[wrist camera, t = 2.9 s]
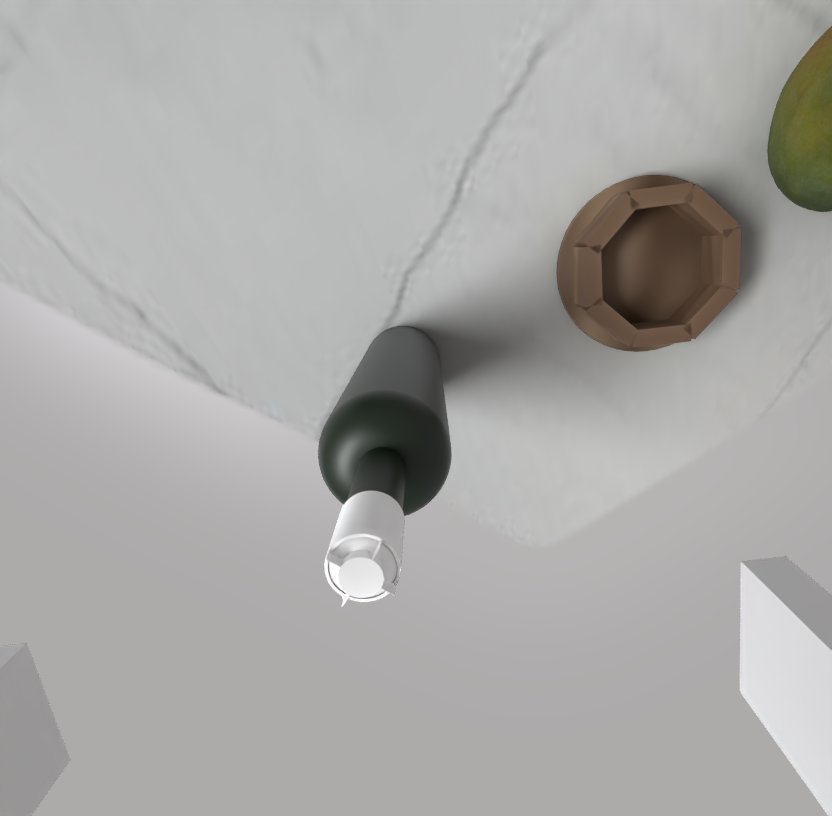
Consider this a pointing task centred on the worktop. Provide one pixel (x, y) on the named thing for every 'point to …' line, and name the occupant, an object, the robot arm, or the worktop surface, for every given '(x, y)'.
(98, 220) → the worktop surface
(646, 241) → the bowl
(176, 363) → the worktop surface
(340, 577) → the wine bottle
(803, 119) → the fruit
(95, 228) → the worktop surface
